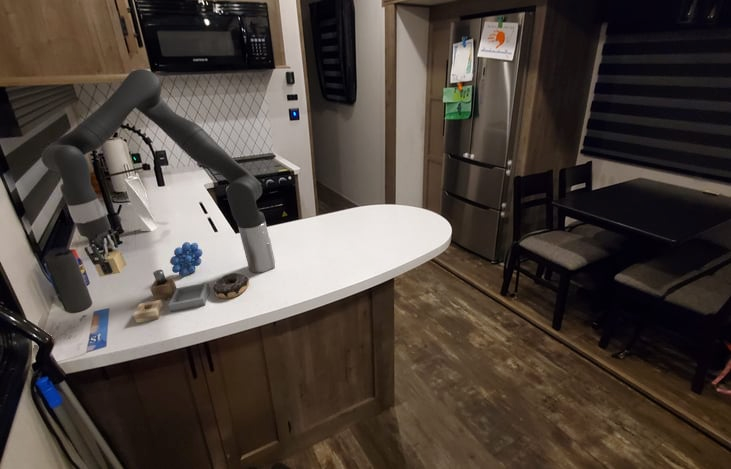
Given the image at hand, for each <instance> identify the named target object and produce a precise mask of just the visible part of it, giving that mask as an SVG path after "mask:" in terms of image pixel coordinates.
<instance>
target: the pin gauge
mask: <svg viewBox="0 0 731 469" xmlns="http://www.w3.org/2000/svg"><path fill="white" fill-rule="evenodd" d="M152 273H153V274H152V275H153V276H154V279H155V280H156V282H157V284H158V285H164V284H166V278H167V277H166V276H165V273H164V270H163V269H158V270H157V269H156V270H154V271H153V272H152Z"/></svg>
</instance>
